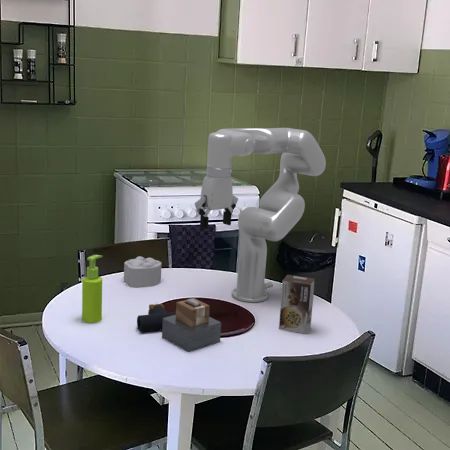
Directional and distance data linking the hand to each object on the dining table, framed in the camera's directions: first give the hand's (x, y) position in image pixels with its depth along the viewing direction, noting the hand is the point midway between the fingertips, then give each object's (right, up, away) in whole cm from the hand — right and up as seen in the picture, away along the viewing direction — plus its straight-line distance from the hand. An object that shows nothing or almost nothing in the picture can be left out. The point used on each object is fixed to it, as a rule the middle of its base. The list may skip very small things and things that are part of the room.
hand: (215, 226), depth 207 cm
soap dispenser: (-38, -29, -6) cm, 48 cm away
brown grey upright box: (+25, -32, -3) cm, 40 cm away
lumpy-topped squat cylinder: (-26, -20, +29) cm, 44 cm away
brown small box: (-6, -27, -18) cm, 33 cm away
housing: (-7, -33, -16) cm, 37 cm away
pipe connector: (-17, -30, -7) cm, 35 cm away
